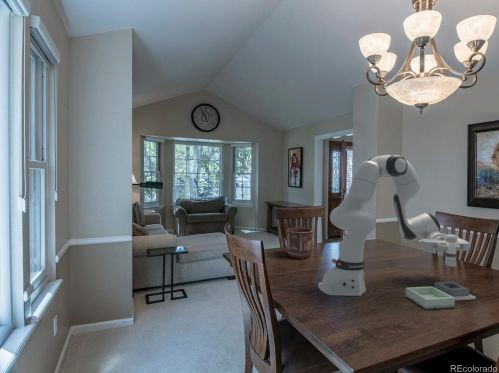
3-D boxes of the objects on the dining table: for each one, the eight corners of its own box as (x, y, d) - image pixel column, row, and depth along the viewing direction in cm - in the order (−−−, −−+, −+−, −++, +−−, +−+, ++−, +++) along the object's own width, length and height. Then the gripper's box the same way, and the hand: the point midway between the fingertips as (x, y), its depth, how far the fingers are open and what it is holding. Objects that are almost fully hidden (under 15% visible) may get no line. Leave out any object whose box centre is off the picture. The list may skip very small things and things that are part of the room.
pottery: (309, 252, 213) (309, 227, 212) (315, 260, 195) (315, 232, 195) (284, 253, 212) (284, 227, 212) (288, 260, 195) (288, 232, 194)
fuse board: (449, 300, 133) (449, 291, 133) (428, 289, 146) (428, 281, 146) (475, 299, 135) (476, 290, 135) (452, 288, 148) (452, 280, 148)
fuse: (449, 266, 137) (450, 236, 136) (442, 264, 141) (443, 234, 141) (458, 266, 138) (459, 236, 137) (451, 263, 142) (452, 234, 141)
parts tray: (426, 309, 125) (426, 299, 125) (405, 296, 138) (406, 287, 138) (454, 307, 127) (454, 297, 127) (431, 294, 140) (431, 286, 140)
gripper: (416, 234, 153) (427, 240, 140) (461, 236, 150) (476, 242, 136) (416, 247, 154) (426, 254, 140) (460, 249, 150) (476, 256, 137)
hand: (452, 248), depth 138 cm, fingers closed on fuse, 4 cm apart
